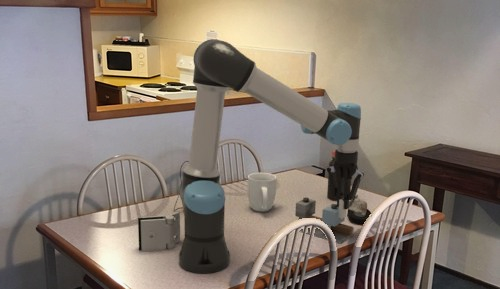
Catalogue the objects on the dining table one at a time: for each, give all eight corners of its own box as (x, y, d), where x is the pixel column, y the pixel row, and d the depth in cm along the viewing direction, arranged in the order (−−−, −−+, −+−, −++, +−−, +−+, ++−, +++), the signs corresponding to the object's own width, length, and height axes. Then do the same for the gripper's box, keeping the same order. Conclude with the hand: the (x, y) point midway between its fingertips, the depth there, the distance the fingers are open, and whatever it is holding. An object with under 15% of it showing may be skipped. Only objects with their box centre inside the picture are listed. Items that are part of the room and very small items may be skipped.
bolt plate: (340, 243, 163) (340, 240, 163) (287, 227, 175) (288, 224, 175) (349, 237, 168) (349, 234, 168) (298, 222, 180) (298, 219, 180)
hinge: (179, 240, 163) (179, 211, 161) (184, 246, 158) (184, 217, 156) (137, 247, 157) (136, 217, 155) (141, 254, 153) (140, 223, 150)
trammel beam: (346, 239, 166) (348, 213, 164) (294, 223, 179) (296, 199, 176) (356, 233, 172) (357, 207, 170) (305, 218, 184) (306, 194, 182)
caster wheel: (363, 232, 179) (339, 221, 184) (378, 218, 186) (354, 208, 192) (365, 217, 176) (340, 206, 181) (380, 203, 183) (356, 193, 189)
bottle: (323, 197, 207) (326, 151, 202) (333, 194, 211) (336, 148, 207) (336, 202, 202) (339, 154, 197) (346, 198, 206) (350, 151, 202)
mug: (279, 217, 184) (281, 183, 181) (250, 218, 183) (251, 184, 180) (272, 203, 199) (273, 172, 196) (245, 204, 197) (246, 172, 194)
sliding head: (334, 231, 169) (335, 209, 167) (321, 228, 172) (322, 205, 170) (344, 225, 174) (345, 203, 172) (331, 222, 177) (332, 200, 175)
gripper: (369, 151, 164) (364, 218, 169) (334, 145, 171) (330, 209, 177) (359, 155, 158) (354, 225, 163) (323, 148, 166) (319, 215, 171)
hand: (341, 217), depth 170 cm, fingers closed
